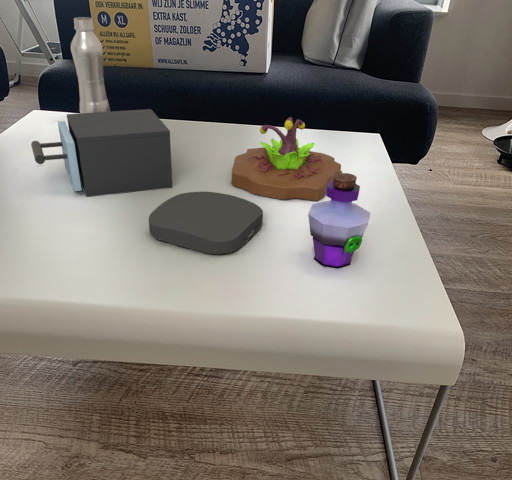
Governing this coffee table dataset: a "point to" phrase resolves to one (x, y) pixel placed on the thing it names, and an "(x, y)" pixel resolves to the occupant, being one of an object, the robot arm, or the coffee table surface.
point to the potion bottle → (338, 223)
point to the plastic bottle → (89, 67)
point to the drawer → (67, 155)
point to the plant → (285, 167)
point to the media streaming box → (206, 221)
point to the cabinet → (121, 151)
